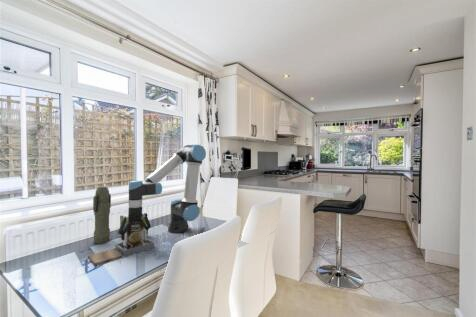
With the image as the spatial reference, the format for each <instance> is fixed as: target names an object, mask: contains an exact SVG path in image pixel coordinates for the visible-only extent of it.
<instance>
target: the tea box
mask: <svg viewBox="0 0 476 317" xmlns="http://www.w3.org/2000/svg"><path fill="white" fill-rule="evenodd" d="M128 215H129V213H128V212H127V213H125V214H122V215H120V216H119V227H120V226H121V223H122V221H123V217H127V216H128ZM141 219H142V220H143V222H144V223H145V224H146V221H145V219H144V217H143V216H142V218H141ZM127 221H129V219H127V220H126V223H125V226H126V224H127ZM125 226H124V228H125ZM146 226H147V224H146ZM144 229H145V228H144ZM125 234H126V238H127V231H126V233H125ZM119 236H120V237H121V235H120V234H119Z"/></svg>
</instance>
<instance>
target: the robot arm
mask: <svg viewBox="0 0 476 317" xmlns="http://www.w3.org/2000/svg"><path fill="white" fill-rule="evenodd" d="M206 156H207V151H206V149H205V148H204V146H202V145H201V144H187V145H184V146H181V148H179V150H177V151H175V153H173V156H172V157H170V159H168V160H167V161H166V162H164V163H163V164H162V165H160V167H158V168H157V169H156V170H155V171H154V172H152V173H150V175H149V176H147V177H145V178H144V179H143V180H130V181H129V183H128V212H127V214H128V213H129V215H128V216H127V217H123V221H122V223H121V226H120V225H119V228H118V231H117V234H118V235H119V236H120V235H121V236H120V237H121V238H120V239H121V241H122V242H123V245H124V246H126V241H127V237H126V234H125V233H126V231H127V224H126V226H125V223H126V220H127V219H129V221H128V223H129V224H130V223H133V222H139V221H143V220H142V219H141V218H142V216H143V217H144V219H145V221H146V224H147V226H146V224H145V223H144V228H145V229H144V235H143V240H145V241H146V240H147V235H148V233H149V230H150V229H151V228H152V224H151V223H150V220H149V218H148V213H146V212H144V213H143V197H144V196H145V197H146V196H157V195H160V194H161V193H162V191H163V185H162V183H160V182H161V181H162V180H163V179H164V178H166V177H167V175H169V174H170V173H171V172H172V171H174V170H175V169H176V168H177V167H178V166H179V165H183V164H184V163H186V165H187V168H186V176H185V184H184V185H185V186H184V193H183V198H179V199H173V200H171V201H170V220H169V221H170V222H169V223H168V224H169V225H168V227H167V231H168V232H169V233H172V234H181V233H184V232H187V231H189V228H190V226H189V223H188V222H192V221H195V220H196V219H198V217H199V215H200V211H201V209H200V207H199V206H198V202H199V201H198V200H197V193H198V184H199V176H200V175H199V174H200V167H201V165H203V161H204V160H205V158H206ZM124 226H125V228H124Z"/></svg>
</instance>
